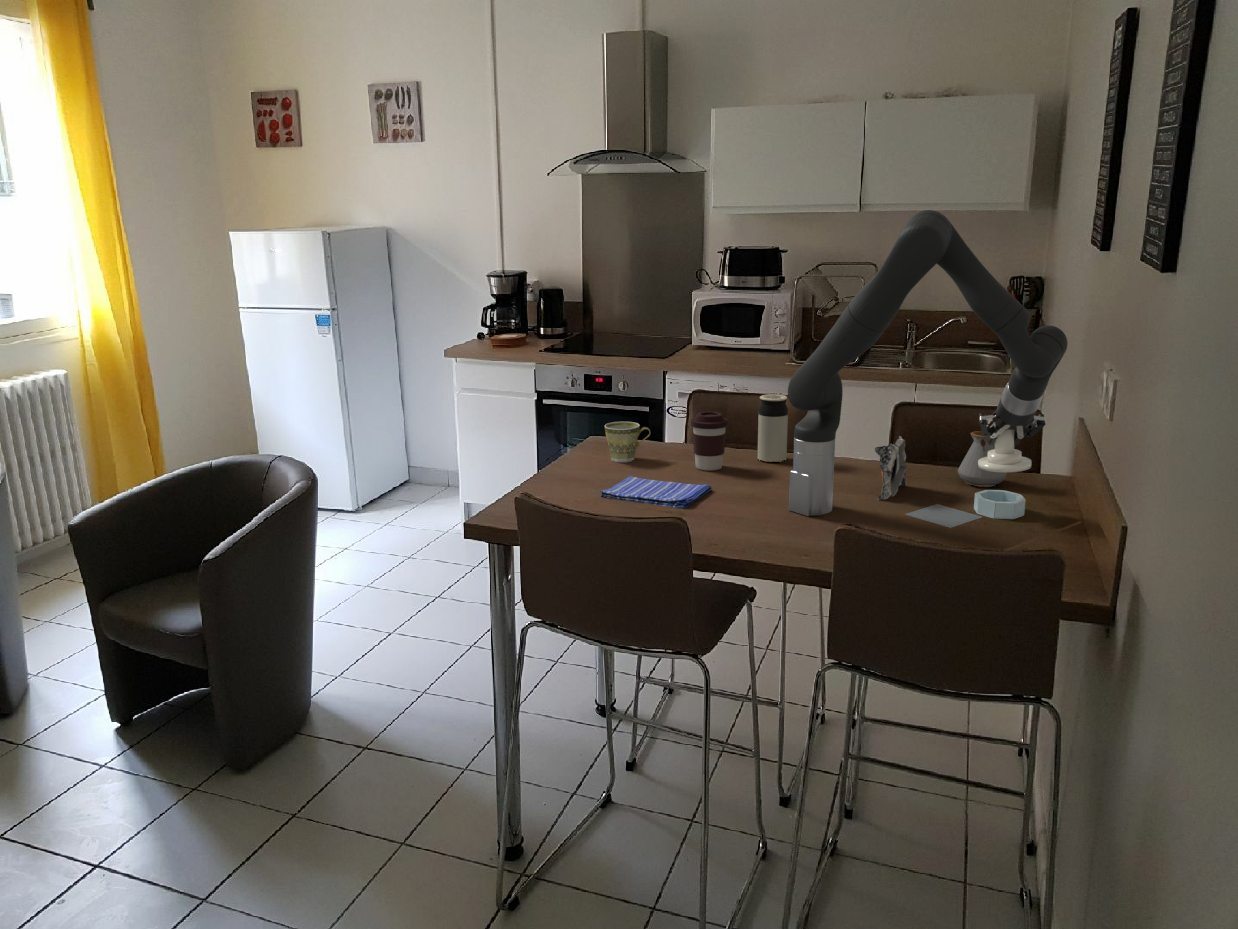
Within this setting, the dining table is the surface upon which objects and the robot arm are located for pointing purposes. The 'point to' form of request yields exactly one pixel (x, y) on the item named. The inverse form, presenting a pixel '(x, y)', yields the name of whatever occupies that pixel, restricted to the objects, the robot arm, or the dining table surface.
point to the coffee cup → (709, 440)
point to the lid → (1004, 456)
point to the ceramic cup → (623, 440)
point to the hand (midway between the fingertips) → (1001, 442)
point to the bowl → (999, 504)
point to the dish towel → (656, 492)
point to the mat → (943, 515)
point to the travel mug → (772, 428)
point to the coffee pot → (970, 463)
